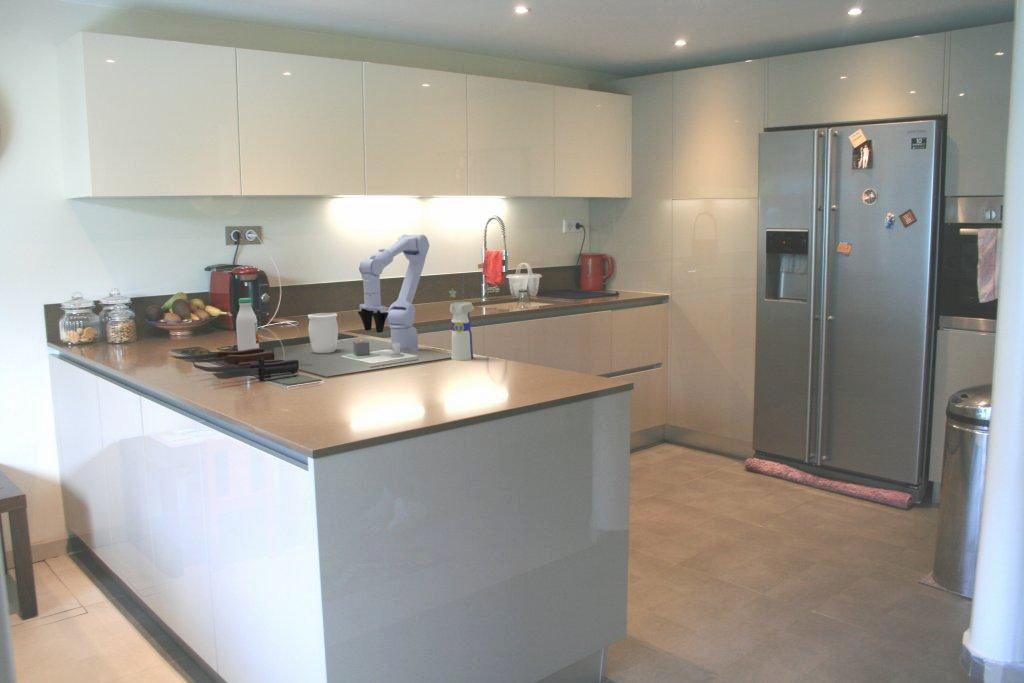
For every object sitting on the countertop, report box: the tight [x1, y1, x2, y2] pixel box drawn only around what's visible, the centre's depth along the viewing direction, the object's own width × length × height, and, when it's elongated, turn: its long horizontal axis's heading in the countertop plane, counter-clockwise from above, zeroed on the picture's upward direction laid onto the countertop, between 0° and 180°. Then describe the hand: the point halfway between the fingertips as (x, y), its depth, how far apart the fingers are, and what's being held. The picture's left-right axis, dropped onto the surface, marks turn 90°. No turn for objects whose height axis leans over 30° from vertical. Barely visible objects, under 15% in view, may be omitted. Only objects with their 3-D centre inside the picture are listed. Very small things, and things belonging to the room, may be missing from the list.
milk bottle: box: [235, 297, 260, 351], centre depth 315 cm, size 8×8×20 cm
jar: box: [307, 312, 339, 354], centre depth 302 cm, size 11×10×15 cm
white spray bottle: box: [448, 288, 475, 361], centre depth 289 cm, size 8×9×25 cm
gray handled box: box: [352, 339, 371, 356], centre depth 291 cm, size 5×5×5 cm
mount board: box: [340, 343, 419, 369], centre depth 290 cm, size 19×20×6 cm
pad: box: [343, 352, 380, 359], centre depth 291 cm, size 9×9×1 cm
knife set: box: [170, 347, 300, 382], centre depth 271 cm, size 35×33×8 cm
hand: (373, 331), depth 295 cm, fingers open, 7 cm apart
